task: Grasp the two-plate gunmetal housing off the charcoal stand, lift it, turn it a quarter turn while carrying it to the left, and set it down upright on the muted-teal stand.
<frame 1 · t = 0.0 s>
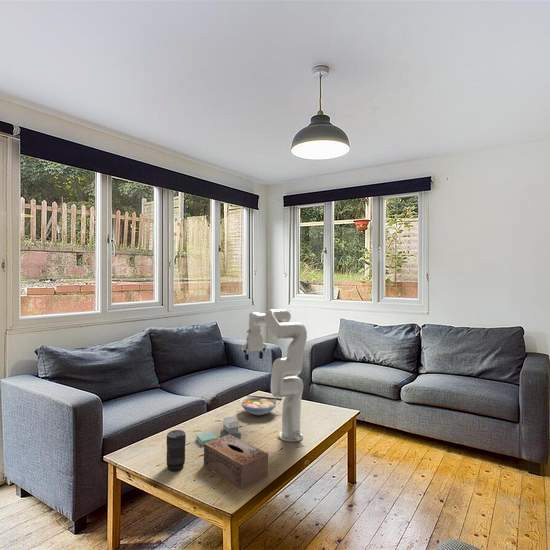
hand: (253, 359, 241), 31 cm above the table, fingers open, 9 cm apart
stand a: (230, 436, 201), on the table
tissue box cover: (234, 471, 167), on the table
housing: (230, 431, 201), point 2 cm above the table, touching stand a
camera lens: (175, 468, 168), on the table
ramen bowl: (258, 413, 235), on the table
stand b: (206, 441, 195), on the table
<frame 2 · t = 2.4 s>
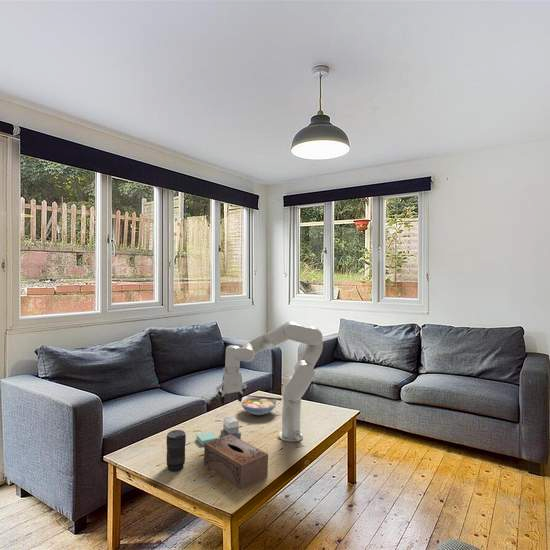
hand: (231, 402, 201), 18 cm above the table, fingers open, 9 cm apart
nothing on the table moved.
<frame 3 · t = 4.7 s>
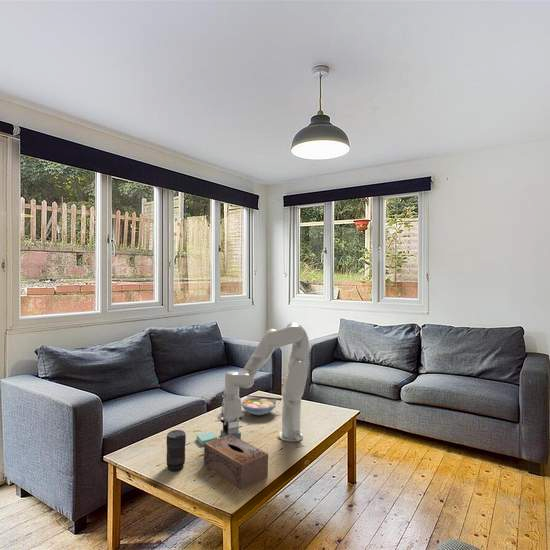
hand: (230, 430, 201), 3 cm above the table, fingers closed on housing, 5 cm apart
housing: (230, 431, 201), point 2 cm above the table, touching gripper, stand a
everything else where it was.
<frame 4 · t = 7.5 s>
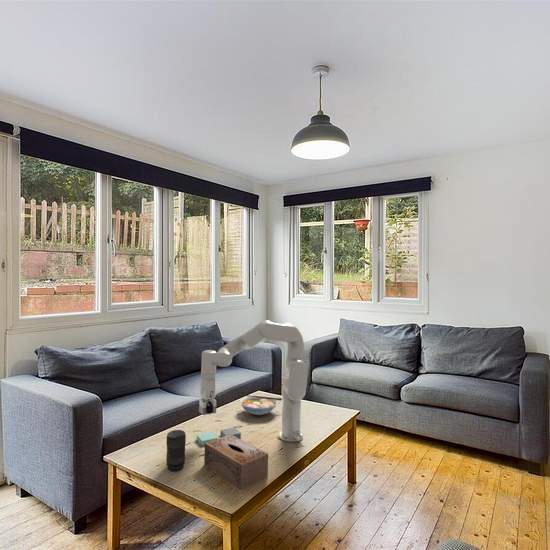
hand: (207, 410, 194), 16 cm above the table, fingers closed on housing, 5 cm apart
housing: (207, 412, 194), point 15 cm above the table, touching gripper
everything else where it was.
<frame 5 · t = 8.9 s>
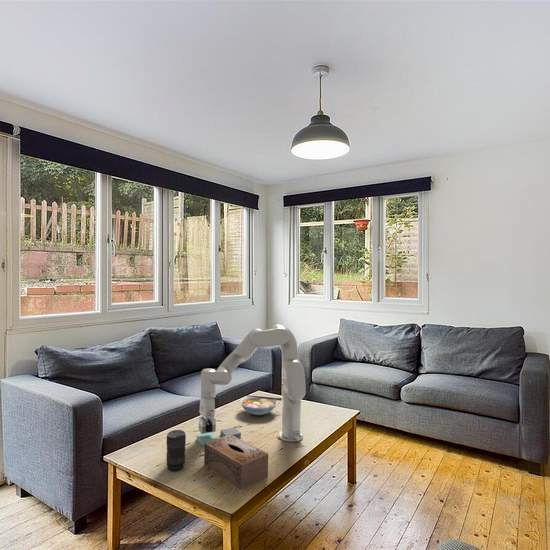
hand: (207, 429, 194), 6 cm above the table, fingers closed on housing, 5 cm apart
housing: (207, 430, 195), point 5 cm above the table, touching gripper
everything else where it was.
when the fingers open (4 cm above the table, at t = 10.2 s): housing drops 1 cm, resting on stand b.
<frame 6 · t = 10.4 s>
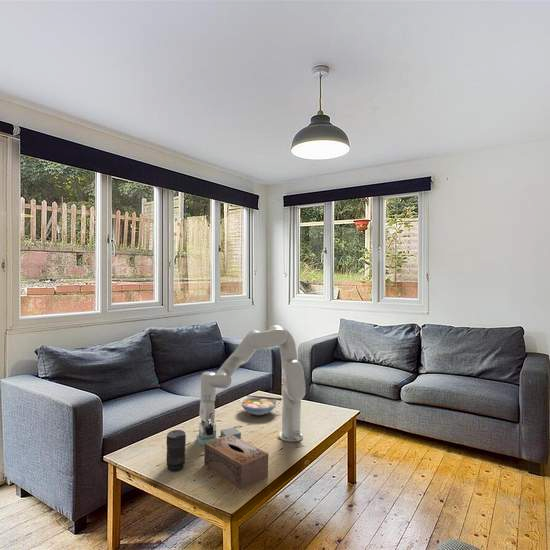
hand: (207, 431, 195), 5 cm above the table, fingers open, 7 cm apart
housing: (207, 436, 195), point 2 cm above the table, touching stand b
everything else where it was.
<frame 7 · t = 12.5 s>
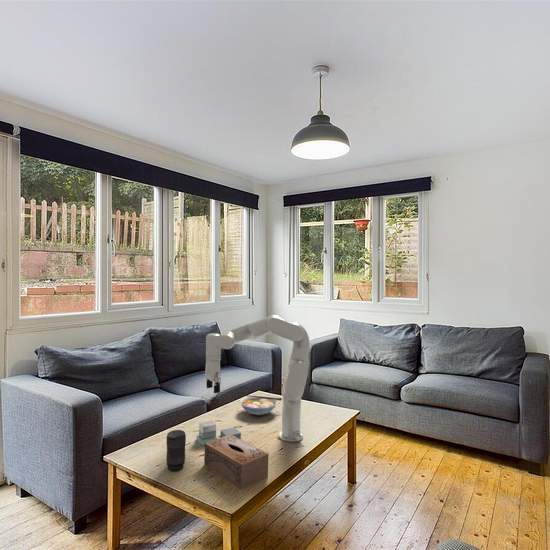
hand: (213, 390, 201), 24 cm above the table, fingers open, 9 cm apart
nothing on the table moved.
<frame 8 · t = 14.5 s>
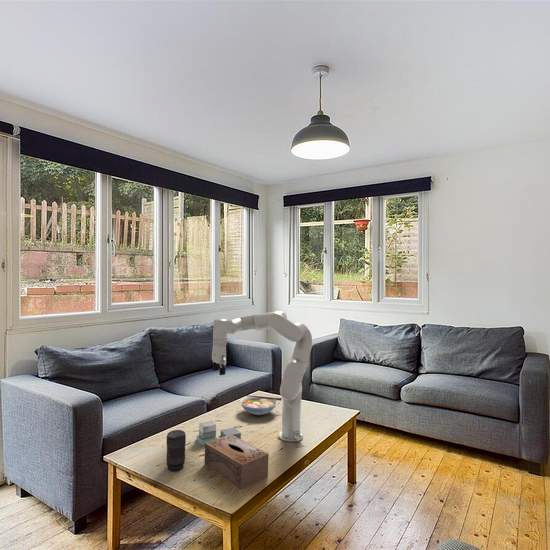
hand: (218, 372, 211), 30 cm above the table, fingers open, 9 cm apart
nothing on the table moved.
at the end: housing 0.2 cm off-centre on the stand b, point 2.5 cm above the stand b's base; housing tilted 0°; the gripper is holding nothing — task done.
